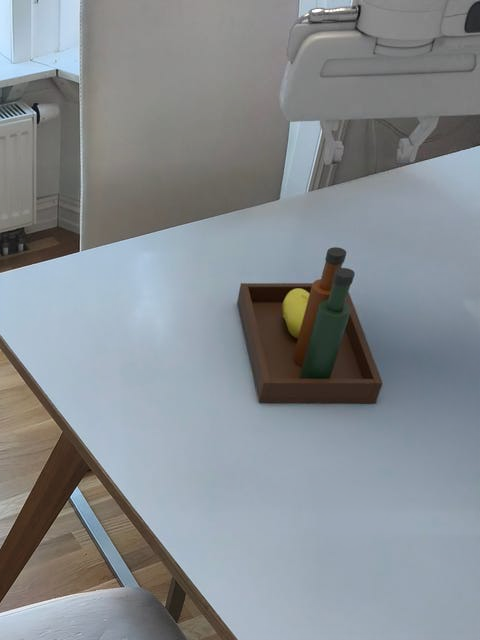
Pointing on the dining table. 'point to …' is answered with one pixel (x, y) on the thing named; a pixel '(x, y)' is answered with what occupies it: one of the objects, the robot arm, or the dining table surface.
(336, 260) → the amber bottle
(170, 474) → the dining table surface
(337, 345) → the green bottle
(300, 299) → the lemon
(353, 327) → the tray
